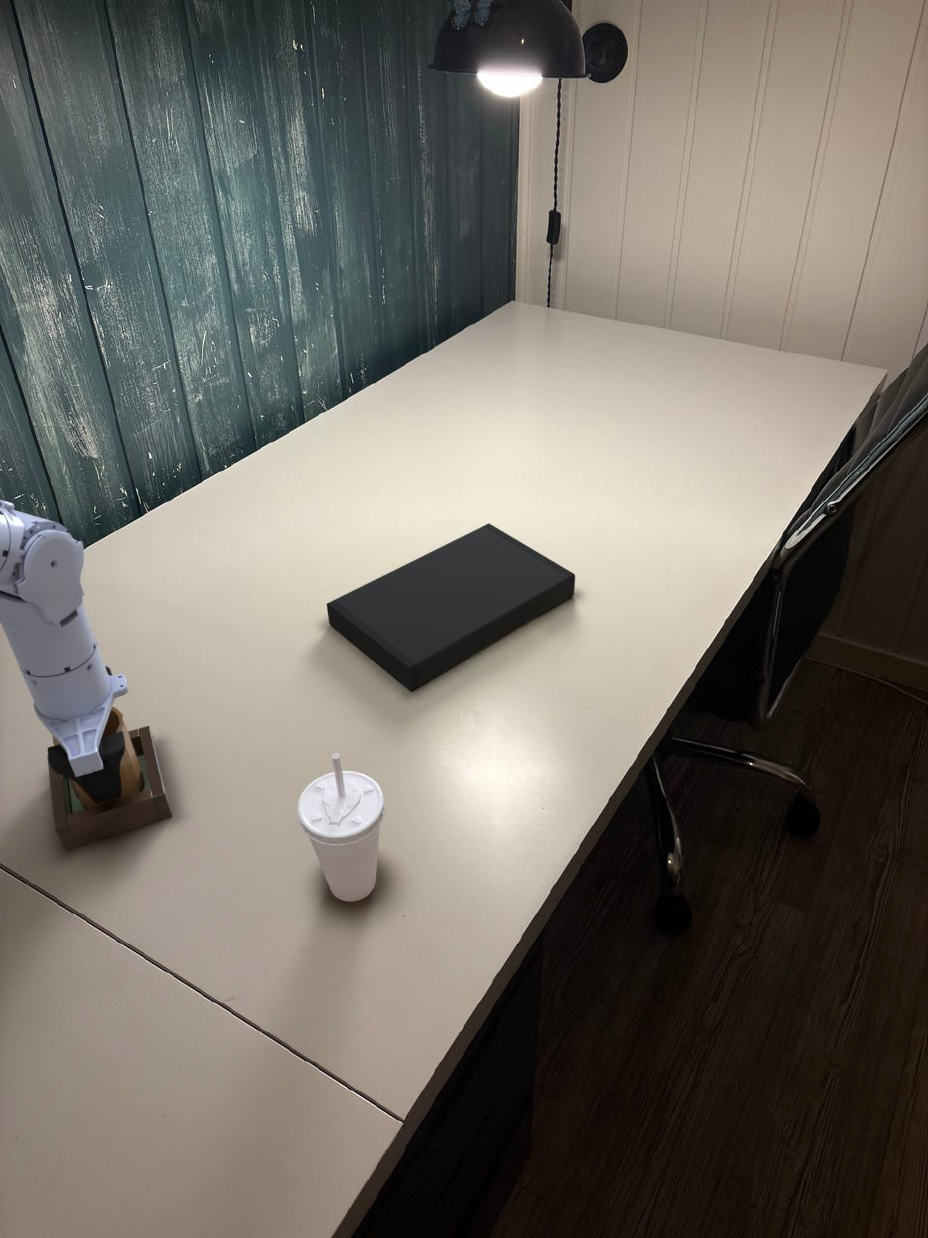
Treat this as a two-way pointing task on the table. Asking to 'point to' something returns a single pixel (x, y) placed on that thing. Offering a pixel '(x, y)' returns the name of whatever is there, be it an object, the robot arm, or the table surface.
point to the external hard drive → (449, 604)
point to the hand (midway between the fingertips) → (104, 772)
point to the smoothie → (344, 829)
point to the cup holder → (115, 816)
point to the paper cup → (128, 766)
